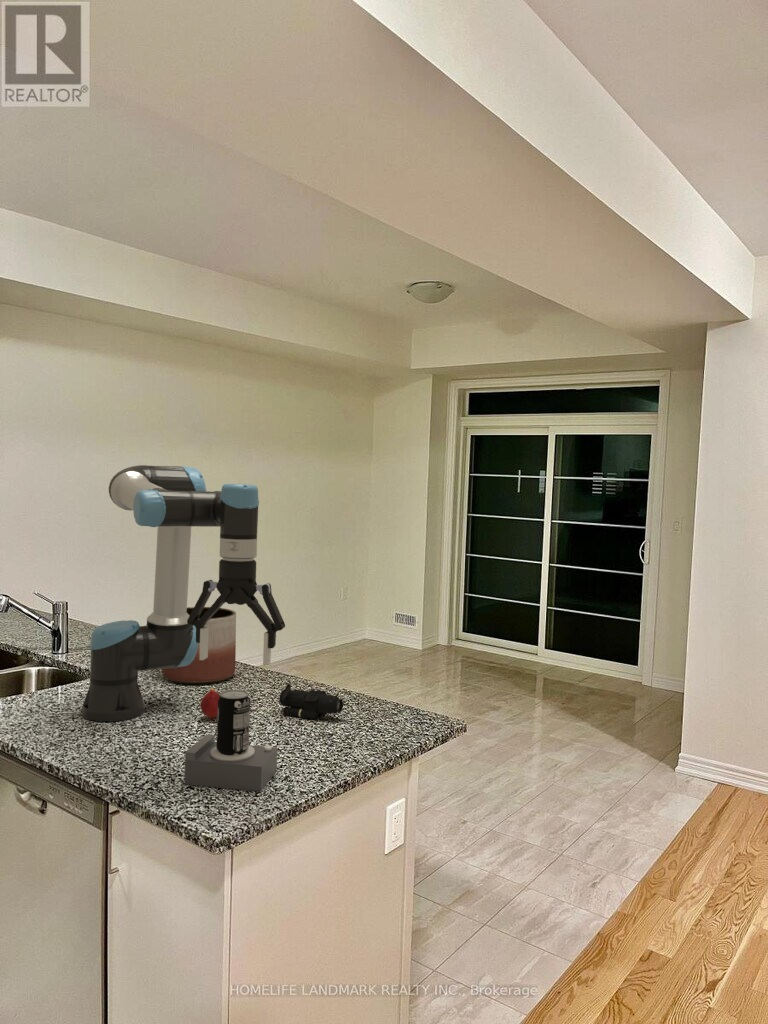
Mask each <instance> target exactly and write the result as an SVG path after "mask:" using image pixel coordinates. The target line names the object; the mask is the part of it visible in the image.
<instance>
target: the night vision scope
mask: <svg viewBox="0 0 768 1024" xmlns="http://www.w3.org/2000/svg"><path fill="white" fill-rule="evenodd" d="M291 687H292V686H291V684H287V686H285V688H284V689H282V690H281V691H280V694H279V703H280V705H281V706H283V707H284V708H283V711H282V713H283V715H284V716H289V717H295V718H301V719H302V718H303V719H310V720H315V721H316V720H317V718H318V716H319V715H326V714H330V715H332V714H333V715H334V714H335V715H336V714H338V713H339V714H340V713H341V712H342V711H343V708H344V701H343V699H342V698H340V697H339V696H335V695H333V694H327V692H326V691H324V690H321V689H317V690H315V689H310V690H309V691H307V690H302V689H293V690H292V689H291Z"/></svg>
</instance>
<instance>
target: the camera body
mask: <svg viewBox="0 0 768 1024" xmlns="http://www.w3.org/2000/svg"><path fill="white" fill-rule="evenodd" d="M215 736H216V735H215V734H205V735H204V736H202V737H201V738H200V739H199V740H198V741H197V742H196V743H194V745H192V746H191V747H190V748H189V749H188V750H186V751H185V753H184V755H185V756H184V757H185V758H184V759H185V760H184V785H189V786H198V787H199V786H202V787H210V788H221V789H232V790H241V791H251V792H262V791H263V790H264V788H265V787H266V786H267V784H269V782H270V780H272V778H273V776H274V775H275V774H276V772H277V771H278V747H273V746H272V745H265V746H261V745H250V744H249V747H248V749H247V750H246V751H245V752H244V753H242V754H239V755H224V754H221V753H220V752H219V751H218V750H217V748H216V745H217V741H216V740H215V739H216V737H215Z"/></svg>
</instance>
